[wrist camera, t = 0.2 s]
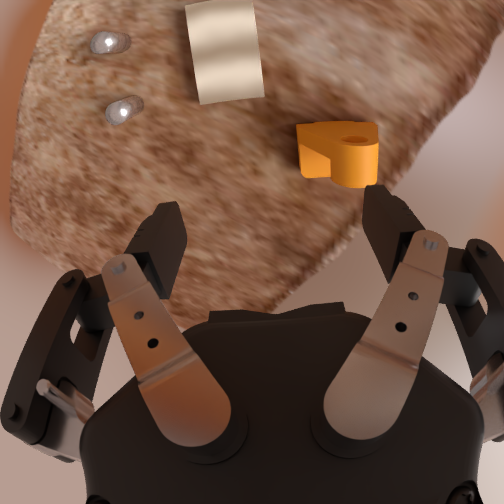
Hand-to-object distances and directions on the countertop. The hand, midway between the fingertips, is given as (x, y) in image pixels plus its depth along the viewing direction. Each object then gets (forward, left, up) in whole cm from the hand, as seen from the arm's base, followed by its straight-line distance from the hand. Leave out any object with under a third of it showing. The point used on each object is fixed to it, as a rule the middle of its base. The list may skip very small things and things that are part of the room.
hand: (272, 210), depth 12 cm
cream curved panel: (-9, -4, -29) cm, 30 cm away
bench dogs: (-9, -18, -28) cm, 34 cm away
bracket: (+6, +9, -28) cm, 30 cm away
